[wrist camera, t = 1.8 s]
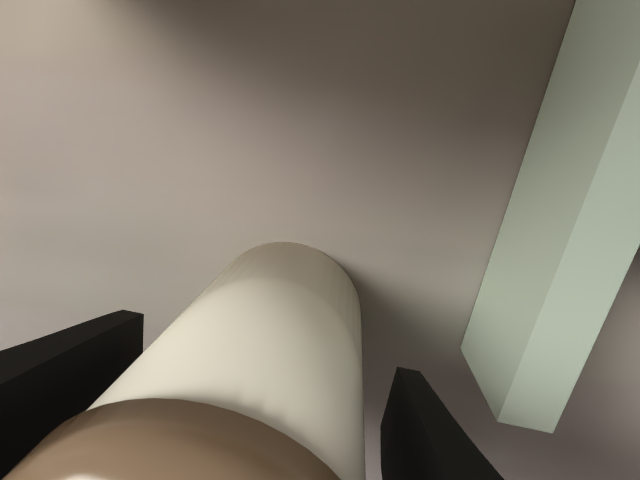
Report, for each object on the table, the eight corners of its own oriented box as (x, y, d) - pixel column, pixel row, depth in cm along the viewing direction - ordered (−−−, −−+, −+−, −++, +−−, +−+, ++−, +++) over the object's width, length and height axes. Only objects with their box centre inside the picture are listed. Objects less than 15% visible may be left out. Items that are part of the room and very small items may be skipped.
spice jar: (347, 391, 14) (335, 825, 5) (205, 361, 14) (-37, 726, 5) (380, 255, 12) (442, 553, 3) (218, 223, 13) (-104, 428, 4)
